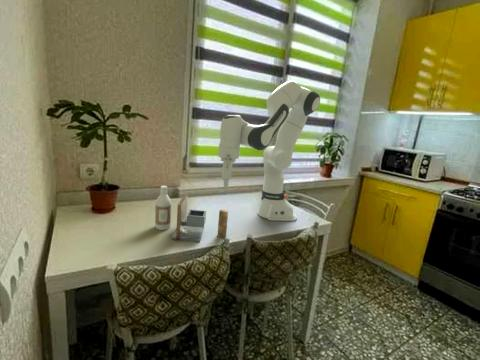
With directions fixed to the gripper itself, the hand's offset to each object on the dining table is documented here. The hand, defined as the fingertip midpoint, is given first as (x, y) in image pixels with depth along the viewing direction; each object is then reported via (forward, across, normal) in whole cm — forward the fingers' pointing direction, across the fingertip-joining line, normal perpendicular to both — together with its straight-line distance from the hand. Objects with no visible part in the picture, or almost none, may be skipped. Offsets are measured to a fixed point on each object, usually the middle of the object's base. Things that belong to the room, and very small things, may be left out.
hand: (226, 184), depth 123 cm
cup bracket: (+25, 0, +15) cm, 29 cm away
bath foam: (+25, +4, +28) cm, 38 cm away
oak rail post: (+24, 0, 0) cm, 25 cm away
